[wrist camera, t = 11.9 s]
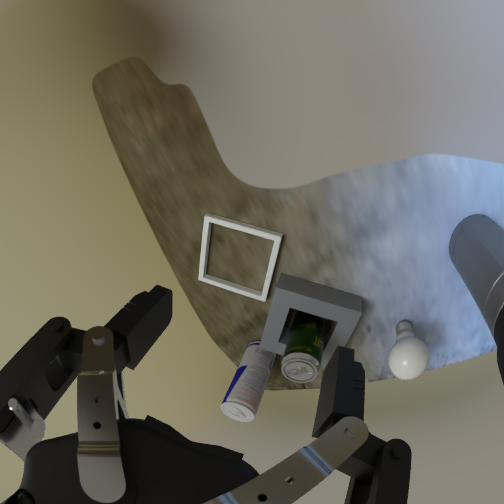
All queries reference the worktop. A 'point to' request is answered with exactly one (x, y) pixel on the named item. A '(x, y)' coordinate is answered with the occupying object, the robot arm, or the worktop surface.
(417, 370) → the lightbulb
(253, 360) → the beverage can
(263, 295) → the square frame
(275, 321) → the socket block
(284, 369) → the beer can
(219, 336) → the worktop surface
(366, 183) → the worktop surface
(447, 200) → the worktop surface
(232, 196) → the worktop surface
